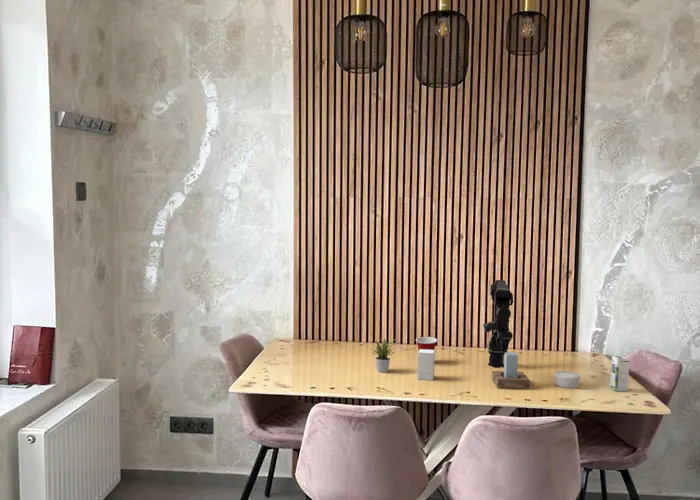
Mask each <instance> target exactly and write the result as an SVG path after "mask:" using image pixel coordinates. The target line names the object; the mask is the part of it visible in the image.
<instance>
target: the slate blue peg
mask: <svg viewBox="0 0 700 500" xmlns="http://www.w3.org/2000/svg"><path fill="white" fill-rule="evenodd" d="M518 366H519V354H518V353H517V352H508V351H507V352H505V354H504V366H503V367H504V368H503V371H504V378H517V372H519V370H518Z"/></svg>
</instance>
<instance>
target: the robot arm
mask: <svg viewBox="0 0 700 500" xmlns="http://www.w3.org/2000/svg"><path fill="white" fill-rule="evenodd" d="M489 296H490V298H491V301H492V302H493V305H494V307H493V308H494V309H493V320H492V321H489V322H486V323H483V324H482V326H483V328H484V329H483V331H484V332H485V333H489V332H492V335H491V336H490V340H489V342H488V347H487V350H488V351H487V353H488V354H489V356H488V357H489V359H488V363H487V365H488V366H491V367H493V368H501V367H504V360H505V352H508V347H509V344H510V342H511V341H512V339H513V337H514V336H513V334H514V333H512V332H511V331H510V327H509V323H510V321H511V320H510V318H511V316H512V312H511V309H510V306H513V304H514V294H513V292H511V289H509V285H508V284H507V282H506V280H504V279H496V280H495V281H494V283H492V284H491V285H490V290H489Z"/></svg>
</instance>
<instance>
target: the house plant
mask: <svg viewBox="0 0 700 500" xmlns="http://www.w3.org/2000/svg"><path fill="white" fill-rule="evenodd" d="M396 340H397V339H395V338H394V339H392V340H391V341H387V340H386V338H385V337H383V339H380V341H381V345H380V343H379V342H378V340H377V339H374V341H375V343H376V345H375V347H376V349H373V348H371V351H373V352H372V354H373V355H377V356H375V365H376V366H375V367H376V372H378V373H388V372H389V366H390V362H391V357H388V356H393V355H392V354H395V352H393V350H394V349H396V348H392V347H393V346H394V345H396V342H394V341H396ZM393 342H394V343H393ZM369 343H370V344H373V343H372V342H370V341H369ZM373 345H374V344H373ZM389 346H390V347H389Z"/></svg>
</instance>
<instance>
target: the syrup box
mask: <svg viewBox="0 0 700 500" xmlns="http://www.w3.org/2000/svg"><path fill="white" fill-rule="evenodd" d="M629 371H630V359H629V358H627V357H625V356H620V355H613V356H611V366H610V377H609V379H610V380H609V389H610V390H612V391H615V392H628V391H629V389H628V388H629V374H630V373H629Z"/></svg>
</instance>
